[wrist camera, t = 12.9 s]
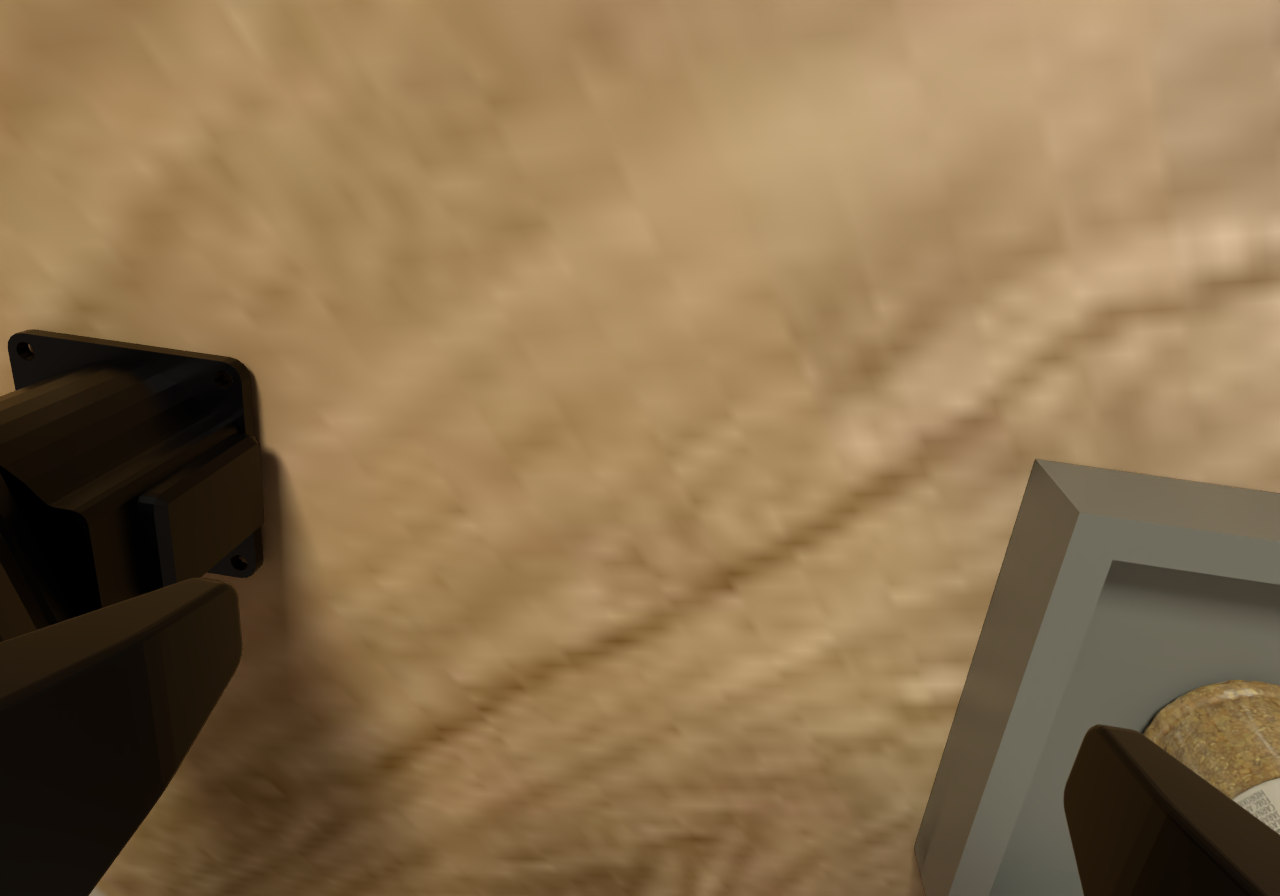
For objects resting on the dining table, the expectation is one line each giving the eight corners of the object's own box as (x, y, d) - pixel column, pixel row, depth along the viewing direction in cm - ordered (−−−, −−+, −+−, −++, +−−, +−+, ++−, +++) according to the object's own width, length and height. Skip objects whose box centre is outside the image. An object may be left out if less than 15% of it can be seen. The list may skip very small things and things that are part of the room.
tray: (914, 847, 26) (934, 935, 23) (1035, 458, 21) (1079, 512, 18) (1358, 924, 25) (1435, 1026, 22) (1595, 538, 20) (1733, 606, 17)
